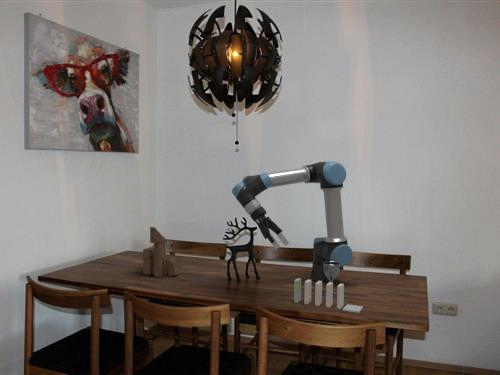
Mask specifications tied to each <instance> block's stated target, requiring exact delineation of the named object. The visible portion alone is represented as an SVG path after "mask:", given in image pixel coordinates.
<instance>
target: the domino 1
mask: <svg viewBox="0 0 500 375" xmlns="http://www.w3.org/2000/svg"><path fill="white" fill-rule="evenodd" d="M293 290H294V292H293V303H296V304H297V303H299V302H301V300H302V278H299V277H298V278H296V279H294V283H293Z"/></svg>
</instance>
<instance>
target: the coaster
mask: <svg viewBox="0 0 500 375" xmlns="http://www.w3.org/2000/svg"><path fill="white" fill-rule="evenodd" d="M363 308H364V306H362V305H361V306H360V305H355V304H348V303H347V304H346V305H344V306H343V307H342V311H343V312H349V313H357V314H360V312H361V311H362V310H363Z"/></svg>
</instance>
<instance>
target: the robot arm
mask: <svg viewBox="0 0 500 375" xmlns="http://www.w3.org/2000/svg"><path fill="white" fill-rule="evenodd" d="M346 179H347V171H346V168H345V166H344V165H343V164H341V163H340V162H337V161H319V162H315V163H312V164H308V165H303V166H301V167H299V168H293V169H288V170H279V171H274V172H262V173H260V174H254V175H246V176H244V177H243V179H242V180H241V181H240V182H238V183H237V184H235V185H234V186H233V188H232V190H231V194H232V195H233V196H234V197H235V199H236V200H237V201H238V203H239V204H240V206H241V207H242V208H243V209H244V211H245V213H247V214H248V215H249V216H250V217H249V218H251V220H252V221H253V222H254V223H256V225H257V226H258V229H259V232H260V233H261V234H262V237H263V238H264V239H265V240H267V239H268V241H269V243H270V244H271V245H272V247H273V248H274V249H275V251H277V250H278V249H279V248H280V247H281V246H282V245H281V244H280V243H279V242H278V240H277V238H278V239H279V240H280V242H281V243H282V244H283V246H284V247H287V246H288V245H290V241H289V239H287V237H286V236H285V234H284V233H283V229H281V228H280V227H279V226H278V224H276V222H274V221H273V220H272V219H271V218H270V217H269V216H266V214H267V211H266V209H265V208H264V207H263V206H262V204H261V202H259V200H258V199H257V198H256V197H257V196H259V195H260V194H261V193H263V192H264V191H265V190H268V189H269V188H275V187H283V186H287V185H288V186H289V185H294V184H295V185H296V184H301V183H304V184H319V189H320V190H321V191H322V192H323V200H324V211H325V213H324V214H325V223H326V224H325V225H326V236H325V237H320V236H319V237H314V238H313V246H312V248H313V249H312V250H313V251H312V252H313V256H312V259H313V260H312V262H313V263H312V267H311V269H310V272H309V280H312V281H315V282H318V281H322V283H325V282H326V283H329V282H330V281H329V279H328V278H327V277H326V275H325V274H324V269H323V262H326V261H333V262H339V263H340V267H345V266H346V265H348V264H349V263H350V262H351V260H352V258H353V249H352V248H351V247H350V246H349V244H348V238H347V237H346V236H345V234H344V232H345V230H344V219H343V207H342V206H343V205H342V193H341V191H342V189H343V188H344V182H345V180H346ZM270 230H271V231H272V232H273V233H274V234H275V235H276V236H277V238H275V236H274V235H273V234H271V231H270ZM337 280H338V276H337V277H336V278H335V279H334V280H333V282H336V281H337Z"/></svg>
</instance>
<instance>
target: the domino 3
mask: <svg viewBox="0 0 500 375" xmlns="http://www.w3.org/2000/svg"><path fill="white" fill-rule="evenodd" d="M314 290H315V292H314V298H315V299H314V306H316V307H318V306H320V305H321V304H323V282H322V281H315V285H314Z"/></svg>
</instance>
